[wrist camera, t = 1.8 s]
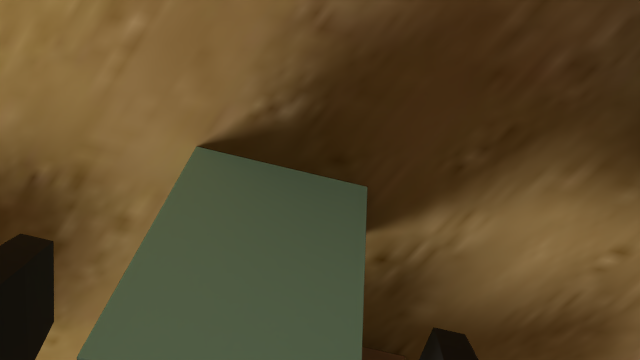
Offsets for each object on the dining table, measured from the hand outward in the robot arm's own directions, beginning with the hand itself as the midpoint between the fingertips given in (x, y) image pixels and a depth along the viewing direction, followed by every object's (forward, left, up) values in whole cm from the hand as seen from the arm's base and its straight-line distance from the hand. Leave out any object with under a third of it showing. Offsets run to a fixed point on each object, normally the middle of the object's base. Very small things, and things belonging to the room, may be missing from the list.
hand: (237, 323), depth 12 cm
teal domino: (0, 0, -5) cm, 5 cm away
